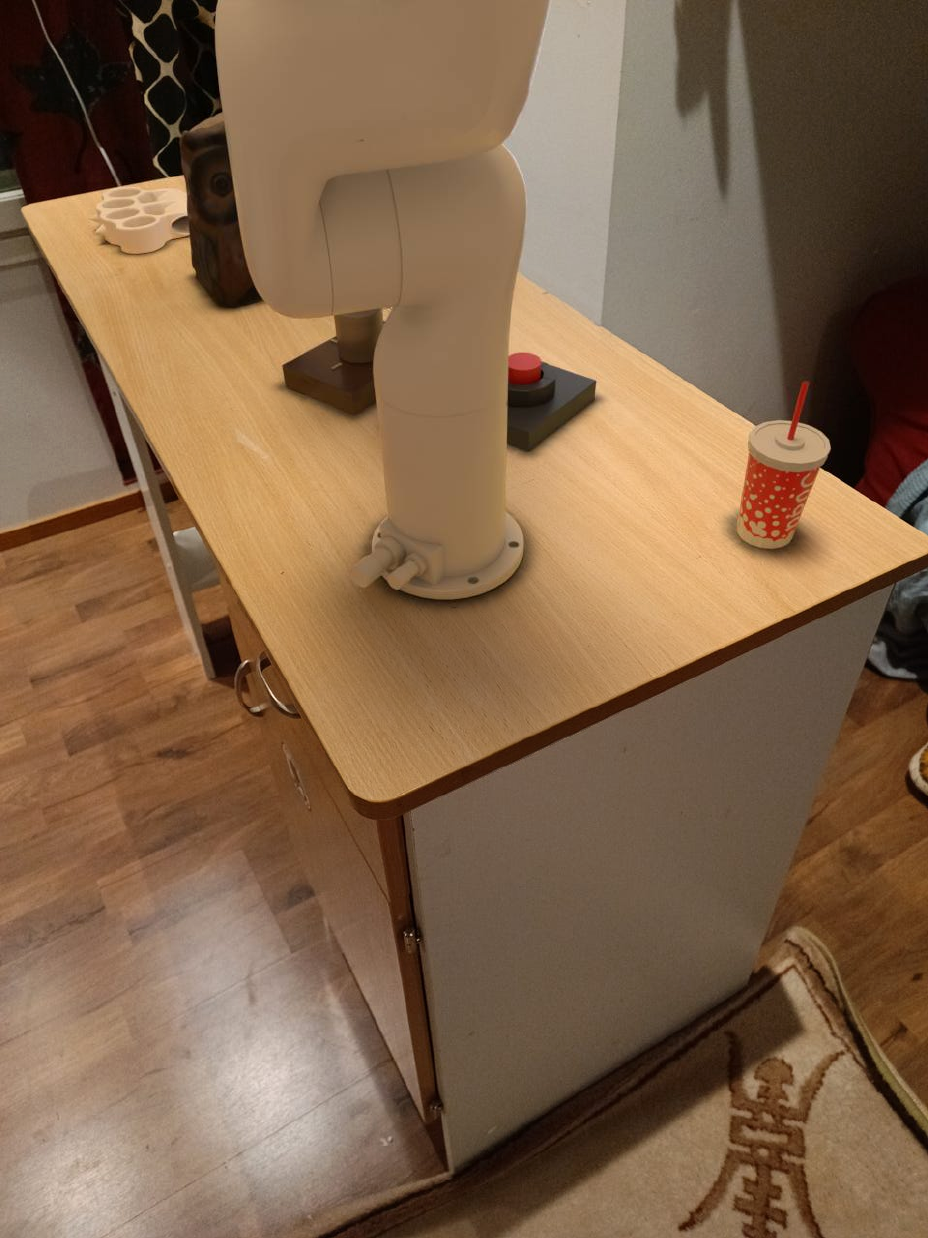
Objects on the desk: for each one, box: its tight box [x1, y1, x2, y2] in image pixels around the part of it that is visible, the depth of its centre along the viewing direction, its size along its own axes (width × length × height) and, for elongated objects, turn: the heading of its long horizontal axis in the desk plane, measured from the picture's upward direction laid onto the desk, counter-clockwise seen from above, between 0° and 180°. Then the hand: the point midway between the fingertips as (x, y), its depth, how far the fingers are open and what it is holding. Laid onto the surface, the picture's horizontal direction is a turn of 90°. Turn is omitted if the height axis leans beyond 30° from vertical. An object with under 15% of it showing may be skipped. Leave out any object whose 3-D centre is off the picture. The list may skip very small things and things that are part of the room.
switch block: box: [507, 360, 597, 453], centre depth 88 cm, size 12×10×4 cm
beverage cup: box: [736, 380, 832, 550], centre depth 69 cm, size 6×6×14 cm
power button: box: [508, 351, 542, 385], centre depth 86 cm, size 4×4×2 cm
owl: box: [179, 111, 264, 309], centre depth 104 cm, size 13×13×20 cm
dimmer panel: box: [281, 320, 386, 416], centre depth 94 cm, size 14×10×3 cm
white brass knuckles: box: [88, 186, 190, 255], centre depth 125 cm, size 3×18×15 cm
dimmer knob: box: [333, 308, 384, 363], centre depth 91 cm, size 5×5×5 cm
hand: (349, 236), depth 85 cm, fingers open, 6 cm apart
